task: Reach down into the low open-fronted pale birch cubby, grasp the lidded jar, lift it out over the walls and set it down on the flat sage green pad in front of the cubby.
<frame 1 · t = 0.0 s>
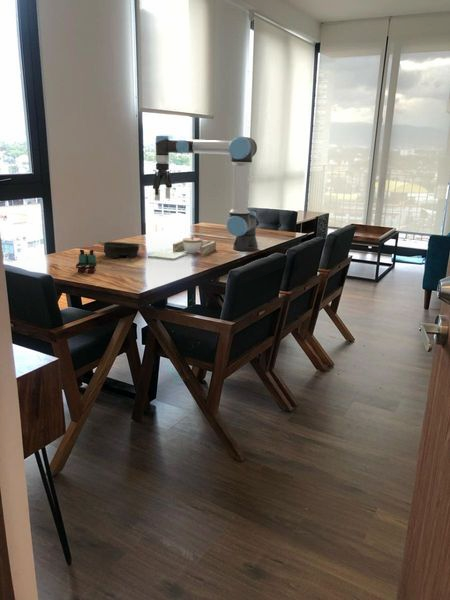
hand: (162, 199, 297), 28 cm above the table, tool pointing down, fingers open, 13 cm apart
stone bowl: (122, 256, 275), on the table
pad: (167, 256, 276), on the table
cubby: (192, 252, 288), on the table
binoculars: (87, 272, 237), on the table
lidded jar: (192, 252, 288), on the table
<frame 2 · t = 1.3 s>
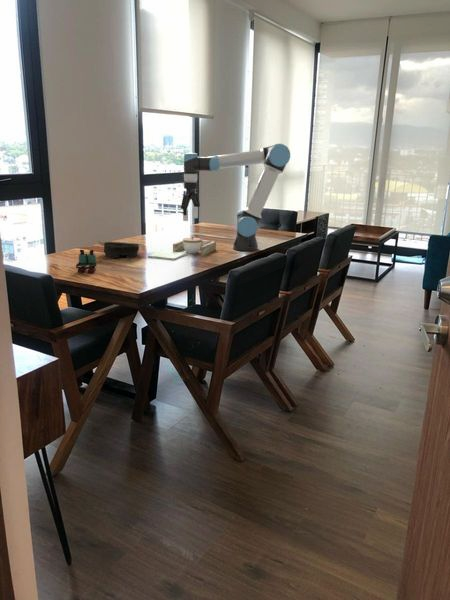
hand: (190, 219, 283), 19 cm above the table, tool pointing down, fingers open, 13 cm apart
nothing on the table moved.
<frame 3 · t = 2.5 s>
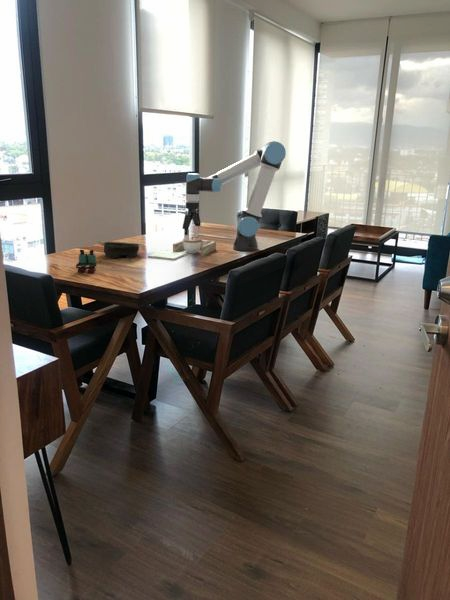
hand: (191, 238, 286), 8 cm above the table, tool pointing down, fingers open, 13 cm apart
nothing on the table moved.
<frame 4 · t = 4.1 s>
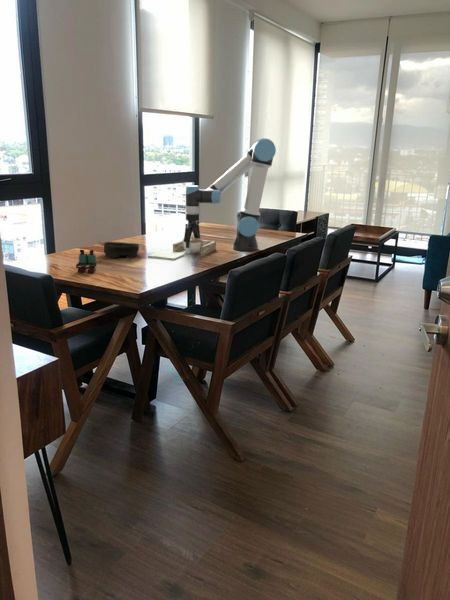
hand: (192, 251, 288), 0 cm above the table, tool pointing down, fingers closed on lidded jar, 11 cm apart
lidded jar: (192, 252, 288), on the table, touching gripper
everything else where it was.
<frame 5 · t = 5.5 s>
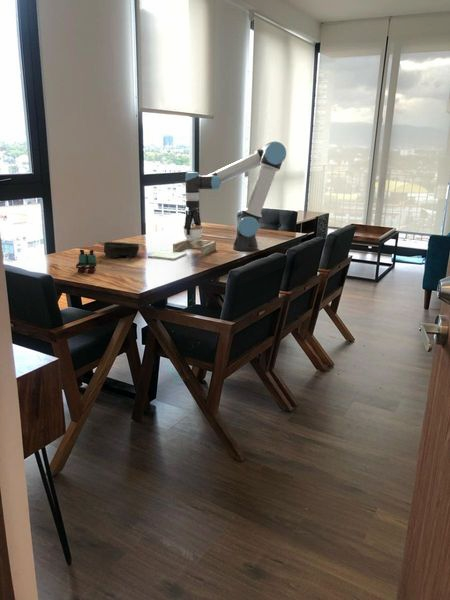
hand: (193, 238, 286), 8 cm above the table, tool pointing down, fingers closed on lidded jar, 11 cm apart
lidded jar: (193, 239, 286), point 7 cm above the table, touching gripper
everything else where it was.
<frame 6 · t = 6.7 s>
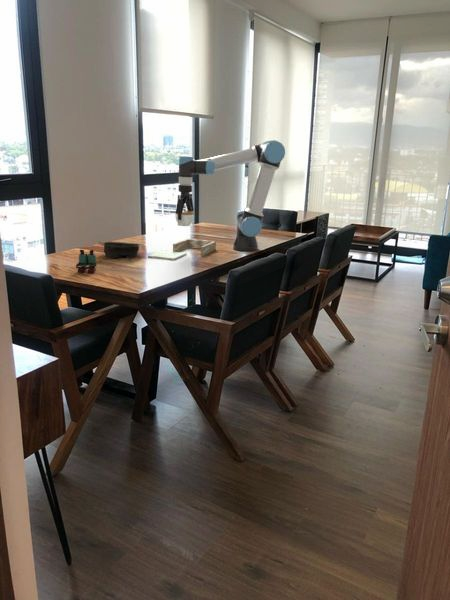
hand: (184, 224, 280), 17 cm above the table, tool pointing down, fingers closed on lidded jar, 11 cm apart
lidded jar: (184, 225, 280), point 16 cm above the table, touching gripper
everything else where it was.
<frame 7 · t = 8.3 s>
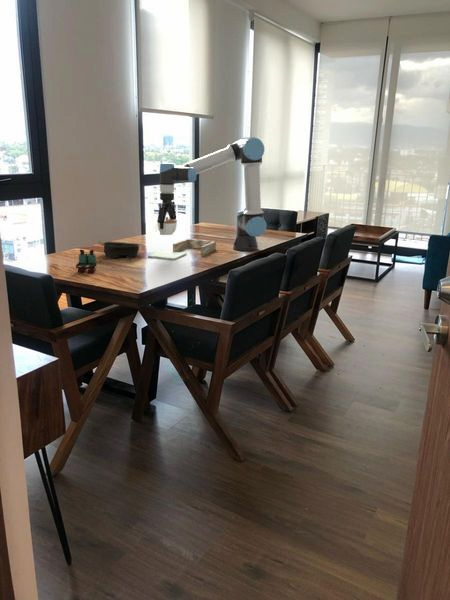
hand: (167, 233, 272), 13 cm above the table, tool pointing down, fingers closed on lidded jar, 11 cm apart
lidded jar: (167, 234, 272), point 12 cm above the table, touching gripper
everything else where it was.
when the fingers open (3 cm above the table, at t = 10.9 s): lidded jar drops 1 cm, resting on pad.
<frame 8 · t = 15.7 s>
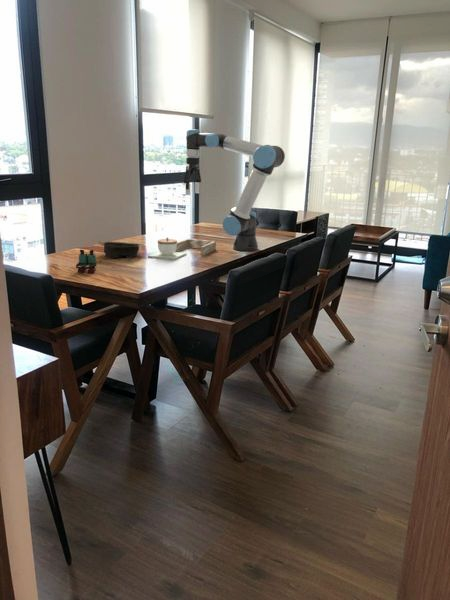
hand: (192, 194, 295), 32 cm above the table, tool pointing down, fingers open, 13 cm apart
lidded jar: (167, 254, 276), point 1 cm above the table, touching pad
everything else where it was.
at the end: lidded jar inside the target area on the pad (0.0 cm from its centre), point 0.8 cm above the pad's base; lidded jar tilted 0°; the gripper is holding nothing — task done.
